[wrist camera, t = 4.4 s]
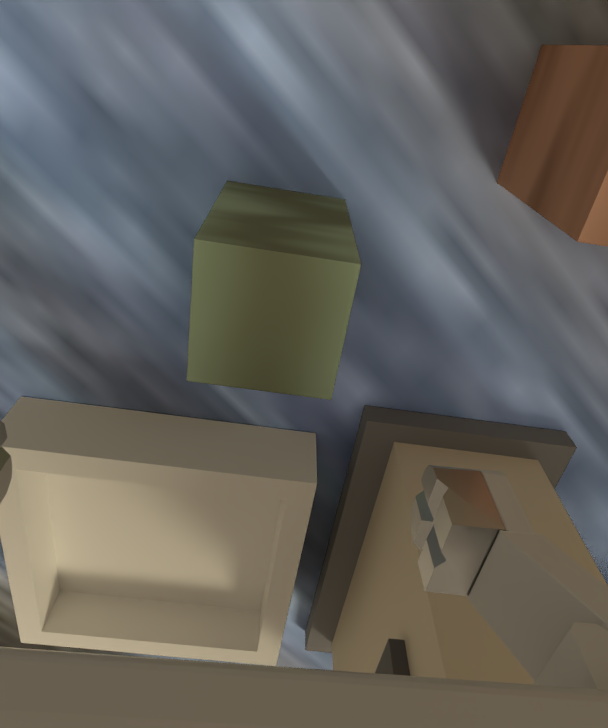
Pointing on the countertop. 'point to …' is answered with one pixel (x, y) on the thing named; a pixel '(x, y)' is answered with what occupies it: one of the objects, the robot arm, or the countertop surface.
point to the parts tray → (153, 530)
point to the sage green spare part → (272, 291)
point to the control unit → (400, 555)
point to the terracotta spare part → (564, 142)
